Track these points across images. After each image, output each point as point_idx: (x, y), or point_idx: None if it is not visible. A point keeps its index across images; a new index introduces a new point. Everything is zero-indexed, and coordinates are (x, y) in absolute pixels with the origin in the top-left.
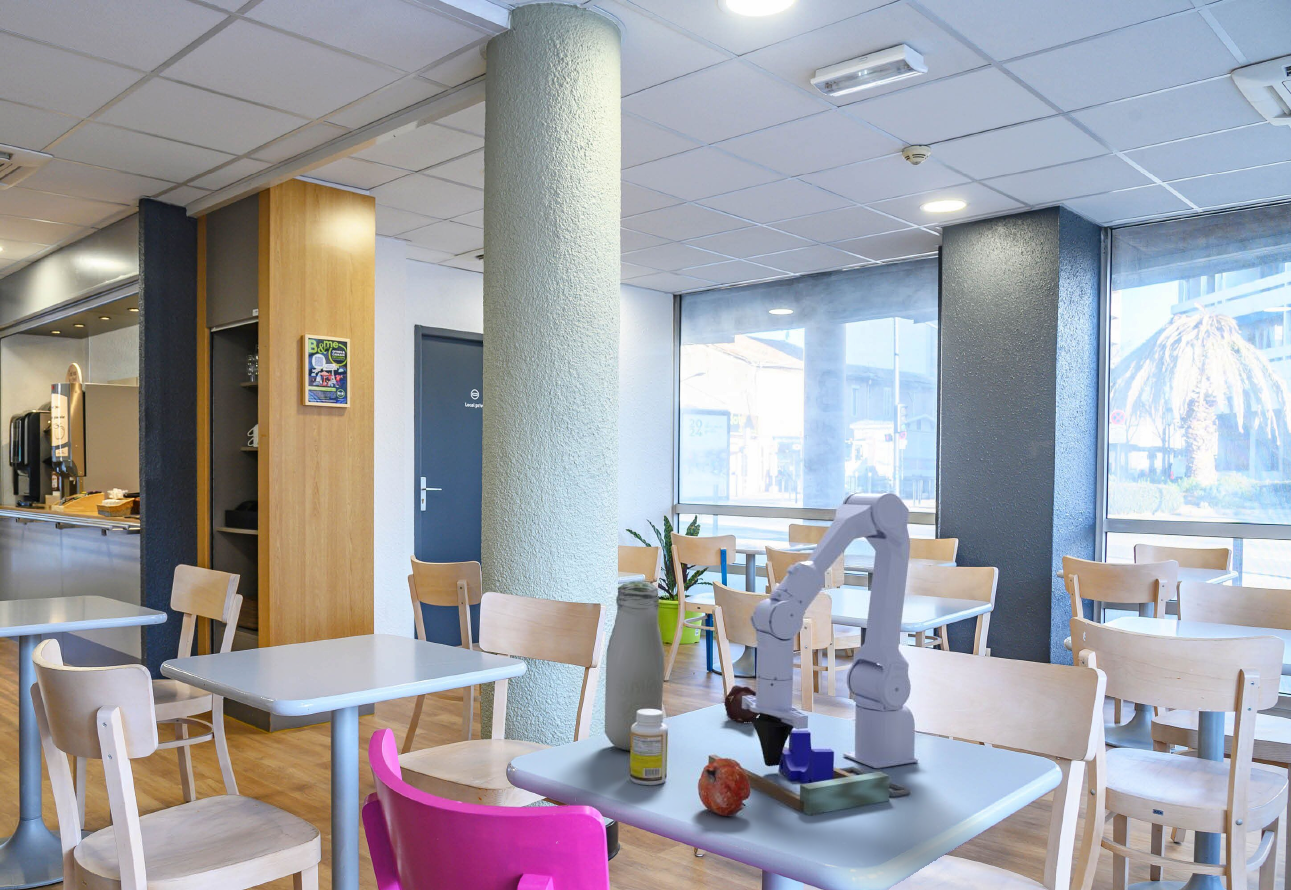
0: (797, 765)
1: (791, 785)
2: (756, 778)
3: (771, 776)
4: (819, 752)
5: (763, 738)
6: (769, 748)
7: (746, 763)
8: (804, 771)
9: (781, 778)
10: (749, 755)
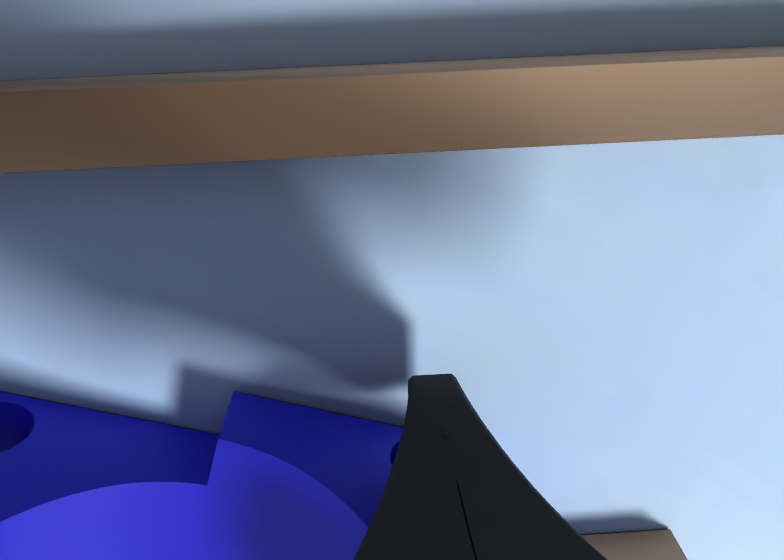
0: (273, 509)
1: (146, 352)
2: (65, 92)
3: (356, 336)
4: None
5: (465, 530)
6: (389, 478)
7: (662, 333)
8: (176, 494)
9: (298, 368)
10: (769, 422)
